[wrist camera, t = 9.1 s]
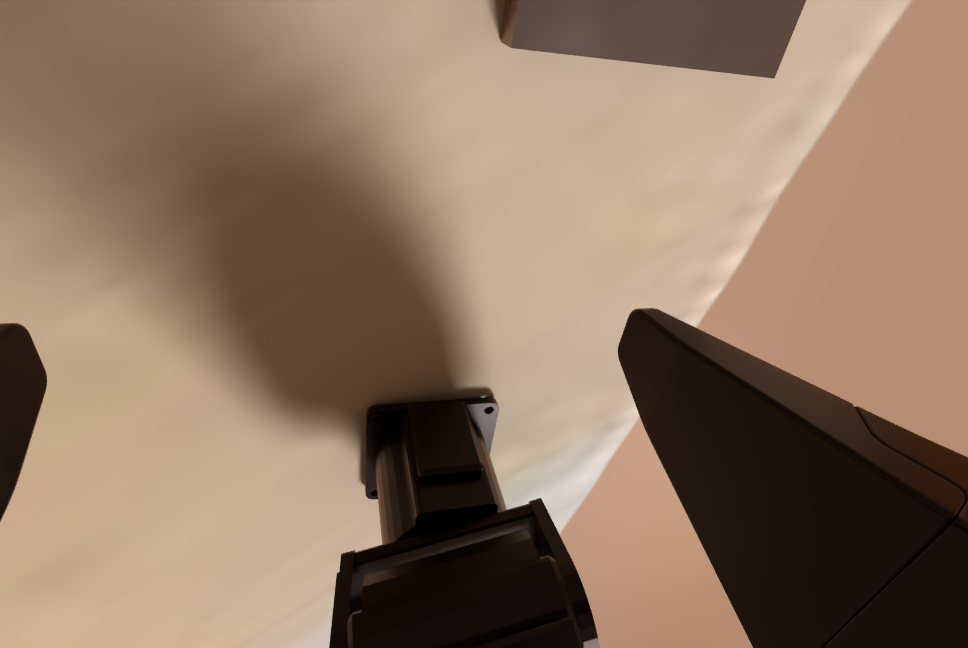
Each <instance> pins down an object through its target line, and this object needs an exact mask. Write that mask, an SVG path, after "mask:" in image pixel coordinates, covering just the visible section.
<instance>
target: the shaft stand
mask: <svg viewBox="0 0 968 648" xmlns="http://www.w3.org/2000/svg"><path fill="white" fill-rule="evenodd" d="M805 2H806V0H507V1H506V8H505V16H504V23H503V31H502V38H501V42H502V43H504V44H506V45H507V46H509V47H510V48H516V49H525V50H533V51H542V52H551V53H559V54H568V55H577V56H585V57H594V58H603V59H611V60H620V61H629V62H637V63H646V64H655V65H663V66H672V67H681V68H689V69H698V70H707V71H715V72H724V73H733V74H741V75H750V76H759V77H767V78H775V75H776V73H777V70H778V68H779V65H780V63H781V61H782V58H783V56H784V53H785V51H786V48H787V46H788V43H789V41H790V38H791V36H792V33H793V31H794V29H795V26H796V24H797V21H798V19H799V16H800V14H801V11H802V9H803V6H804V4H805Z"/></svg>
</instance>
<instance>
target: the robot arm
mask: <svg viewBox="0 0 968 648" xmlns="http://www.w3.org/2000/svg"><path fill="white" fill-rule="evenodd" d="M618 357H619V361H620V364H621V366H622V369H623V372H624V374H625V377H626V380H627V383H628V385H629V388H630V391H631V393H632V396H633V399H634V401H635V404H636V407H637V410H638V412H639V415H640V418H641V420H642V422H643V425H644V428H645V430H646V432H647V434H648V436H649V439H650V441H651V443H652V445H653V447H654V449H655V451H656V453H657V455H658V457H659V459H660V461H661V463H662V465H663V467H664V469H665V471H666V473H667V475H668V477H669V479H670V481H671V483H672V485H673V487H674V489H675V491H676V493H677V495H678V497H679V499H680V501H681V503H682V505H683V507H684V509H685V511H686V513H687V515H688V517H689V519H690V521H691V523H692V525H693V527H694V529H695V531H696V533H697V535H698V538H699V540H700V542H701V544H702V546H703V548H704V550H705V552H706V554H707V556H708V558H709V560H710V562H711V564H712V566H713V568H714V570H715V572H716V574H717V576H718V578H719V580H720V582H721V584H722V586H723V588H724V590H725V592H726V594H727V596H728V598H729V600H730V602H731V604H732V606H733V608H734V610H735V612H736V614H737V616H738V618H739V620H740V622H741V624H742V626H743V628H744V630H745V632H746V634H747V636H748V638H749V640H750V642H751V644H752V646H753V648H968V457H966V456H964V455H962V454H959V453H957V452H955V451H953V450H950V449H948V448H946V447H944V446H941V445H939V444H937V443H935V442H932V441H930V440H928V439H926V438H923V437H921V436H919V435H917V434H915V433H913V432H911V431H908V430H906V429H904V428H902V427H900V426H898V425H895V424H894V423H891V422H889V421H887V420H885V419H883V418H881V417H879V416H877V415H875V414H873V413H871V412H868V411H866V410H864V409H862V408H860V407H858V406H856V407H854V406H853V404H851V403H850V402H848V401H846V400H844V399H841V398H839V397H837V396H835V395H833V394H831V393H829V392H827V391H825V390H823V389H821V388H819V387H817V386H815V385H813V384H810V383H808V382H806V381H804V380H802V379H800V378H798V377H796V376H794V375H792V374H790V373H788V372H786V371H784V370H782V369H780V368H778V367H776V366H773V365H771V364H769V363H767V362H765V361H763V360H761V359H759V358H757V357H755V356H752V355H751V354H749V353H747V352H745V351H743V350H740V349H738V348H736V347H734V346H732V345H730V344H728V343H726V342H724V341H722V340H720V339H718V338H716V337H714V336H711V335H710V334H707V333H705V332H703V331H701V330H699V329H697V328H695V327H693V326H691V325H689V324H687V323H685V322H683V321H681V320H679V319H677V318H675V317H672V316H670V315H668V314H666V313H664V312H662V311H660V310H658V309H654V308H645V309H635V310H633V311H632V312H631V313H630V315H629V317H628V320H627V323H626V326H625V328H624V331H623V334H622V337H621V340H620V343H619V346H618ZM46 387H47V375H46V371H45V368H44V366H43V364H42V361H41V359H40V357H39V354H38V352H37V350H36V347H35V345H34V343H33V340H32V338H31V336H30V334H29V332H28V330H27V329H26V328H25V327H24V326H22V325H20V324H17V323H6V324H0V521H1V519H2V517H3V515H4V513H5V510H6V508H7V506H8V504H9V501H10V499H11V497H12V494H13V492H14V489H15V487H16V484H17V481H18V478H19V475H20V472H21V469H22V466H23V463H24V460H25V456H26V453H27V450H28V447H29V443H30V440H31V437H32V434H33V430H34V427H35V424H36V421H37V417H38V414H39V411H40V408H41V404H42V401H43V398H44V395H45V391H46ZM487 407H489V408H487ZM486 408H487V409H486ZM498 410H499V407H498V404H497V402H496V400H495V399H494V398H489V397H488V398H474V399H460V400H446V401H432V402H418V403H403V404H389V405H376V406H372V407H370V408H369V409H368V410H367V412H366V460H365V491H366V497H368V498H369V499H378V503H379V513H380V523H381V534H382V544H383V545H380V546H376V547H372V548H369V549H365V550H362V551H358V552H355V550H354V551H350V552H346V553H343V554H341V562H340V572H339V573H337V578H336V587H335V597H334V607H333V617H332V627H331V636H330V646H329V648H599V643H598V636H597V632H596V627H595V623H594V620H593V616H592V612H591V609H590V606H589V603H588V599H587V596H586V593H585V591H584V587H583V585H582V582H581V580H580V577H579V575H578V572H577V570H576V568H575V566H574V564H573V561H572V559H571V557H570V555H569V553H568V552H567V549H566V547H565V545H564V543H563V541H562V539H561V537H560V535H559V533H558V531H557V529H556V527H555V525H554V523H553V521H552V519H551V517H550V515H549V513H548V511H547V509H546V507H545V505H544V503H543V501H542V499H541V498H539V499H536V500H532V501H529V504H526V505H522V506H519V507H515V508H512V509H508V510H507V509H506V506H505V503H504V499H503V496H502V493H501V490H500V487H499V484H498V481H497V477H496V474H495V471H494V468H493V465H492V462H491V459H490V450H491V445H492V440H493V435H494V430H495V425H496V420H497V415H498ZM376 415H380V416H378V417H374V416H376Z"/></svg>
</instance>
